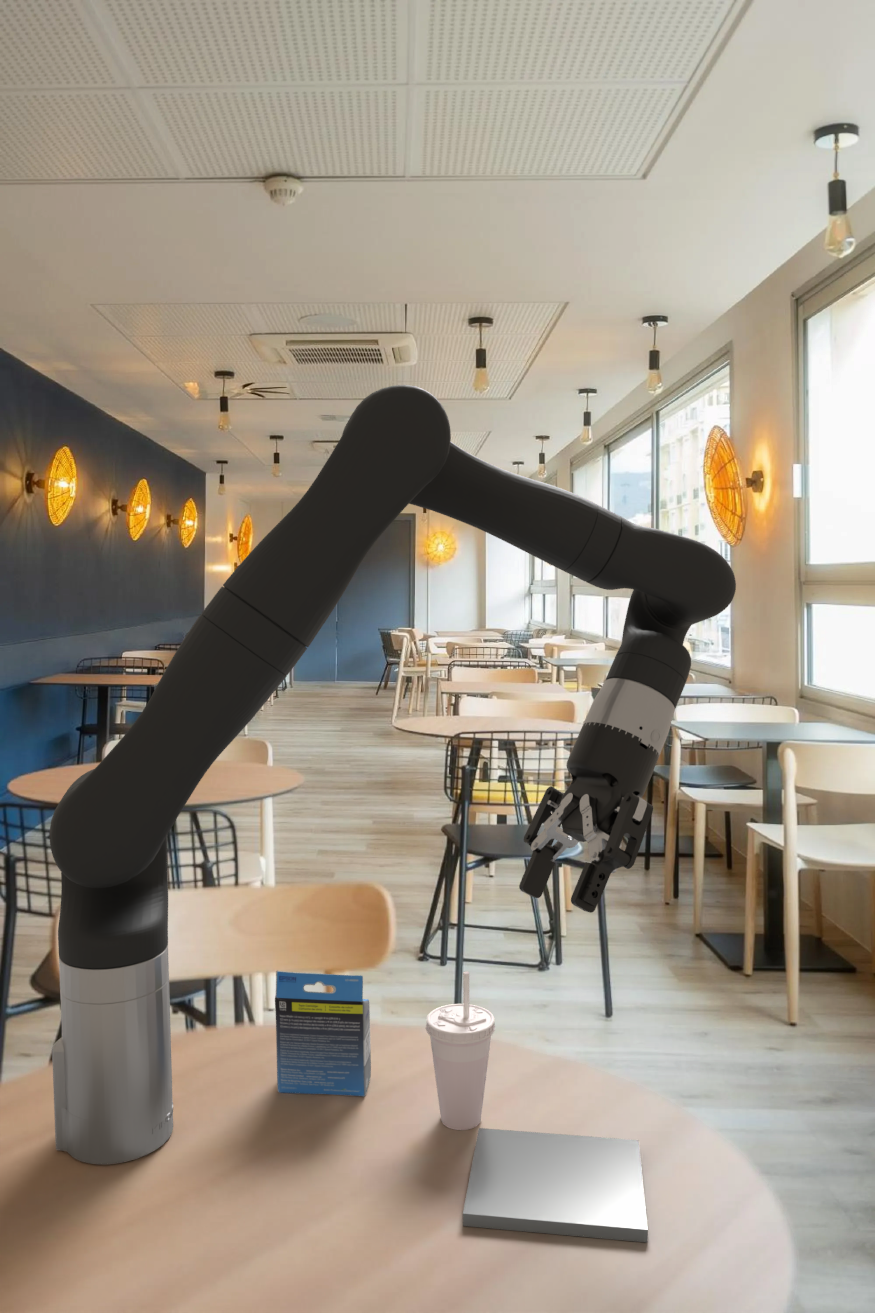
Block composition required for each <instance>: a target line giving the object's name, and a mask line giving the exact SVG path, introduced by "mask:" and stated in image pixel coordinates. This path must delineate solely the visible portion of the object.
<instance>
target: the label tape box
mask: <svg viewBox="0 0 875 1313" xmlns="http://www.w3.org/2000/svg"><path fill="white" fill-rule="evenodd" d="M317 983H319V984H321V985H322V987H331V988H333V991H332V992H328V991H327V992H325V991H308V990H306V989H305V986H315V985H316V984H317ZM363 989H364V976H363V975H362V974H360V975H359V974H358V975H357V974H356V975H355V974H335V973H331V974H330V973H318V972H315V973H314V972H293V971H282V970H276V971H275V996H274V1007H275V1008H274V1009H275V1037H276V1039H275V1042H276V1079H277V1080H276V1082H277V1083H276V1084H277V1085H276V1086H277V1092H278V1093H279V1094H296V1095H297V1094H298V1095H299V1094H300V1095H302V1094H303V1095H334V1096H335V1095H338V1096H352V1097H353V1096H356V1097H366V1095H367V1093H368V1092H367V1091H368V1087H369V1085H370V1081H371V1076H372V1060H371V1059H372V1056H371V1053H372V1052H371V1050H372V1049H371V1048H372V1047H371V1019H370V1018H371V1015H370V1014H371V1013H370V1012H371V1011H370V1007H371V1006H370V1000H369V998H367V999H364V998H363V997H364V996H363V995H364V994H363V993H364V992H363V991H364V990H363Z"/></svg>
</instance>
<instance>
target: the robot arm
mask: <svg viewBox="0 0 875 1313" xmlns="http://www.w3.org/2000/svg"><path fill="white" fill-rule="evenodd" d="M451 433H452V432H451V425H450V420H449V417H448V414H447V411H446V410H445V408H444V406H443V405H442V403H441V401H439V400H438V398H437V397H436V396H435V395H433V394H432V393H431V392H429V391H428V390H426V389H424V388H421V387H419V386H415V385H410V384H396V385H395V384H394V385H391V386H387V387H382V388H380V389H378V390H376V391H374V392H371V393H370V394H368V395H367V396H366V397H364V398H363V399H362V400H361V402H359V404H358V405H357V406H356V407H355V409H354V411H353V412H352V413H351V415H350V417H349V418H348V420H347V423H346V424H345V426H344V428H343V431H342V435H341V436H340V439H339V440H338V442H337V443H336V446H335V447H334V449H333V451H332V452H331V454H330V455H329V456H328V458H327V460H326V462H325V463H324V464H323V467H322V468H321V470H320V471H319V473H318V475H317V476H316V477H315V479H314V481H313V482H312V484H311V485H310V486H309V488H308V489H307V491H306V492H305V493H304V494H303V496H302V497H301V499H300V500H298V502H297V503H296V504H295V506H294V507H292V509H290V511H289V512H288V513H287V514H286V515H285V516H284V517H283V518H282V519H281V520H280V521H279V522H278V523H277V524H276V525H275V526H274V527H273V528H272V529H271V530H270V531H269V532H268V533H267V534H266V535H265V536H264V537H263V538H262V539H261V541H259V542H258V544H257V545H256V546H255V547H254V548H253V549H252V550H250V552H249V553H248V554H247V556H246V557H245V558H244V559H243V560H242V562H241V563H240V564H239V565H238V566H237V567H236V568H235V569H234V571H233V572H232V573H231V574H230V575H229V577H228V578H227V579H226V580H225V581H224V583H223V584H222V585H223V586H221V587H220V588H219V589H218V591H217V592H216V594H214V596H213V597H212V599H211V600H210V602H208V604H207V605H206V607H205V608H204V610H203V611H202V612H201V613H200V615H199V616H198V617H197V619H196V620H195V622H194V623H193V625H192V627H191V628H190V629H189V631H188V632H187V634H186V635H185V637H184V638H183V640H182V642H181V644H180V645H179V646H178V648H177V650H176V651H175V653H174V654H173V657H172V658H171V660H170V661H169V663H168V665H167V667H166V669H165V670H164V672H163V674H162V675H161V678H160V680H159V681H158V683H157V685H156V687H155V689H154V691H153V692H152V694H151V696H150V698H149V700H148V701H147V703H146V705H145V707H144V708H143V710H142V711H141V713H140V714H139V715H138V717H137V718H136V720H135V721H134V723H132V725H131V727H130V728H129V729H128V730H127V732H126V733H125V734H124V735H123V736H122V737H121V739H120V740H119V741H118V742H117V743H116V744H115V745H114V747H113V748H112V749H110V751H109V753H108V754H106V756H105V757H104V758H103V759H102V760H101V761H100V762H99V764H98V765H97V766H96V767H94V768H93V769H91V770H89V771H86V772H85V773H84V774H82V775H80V776H79V777H78V778H77V779H75V781H74V782H72V783H71V785H70V786H69V787H68V789H67V790H66V792H65V793H64V794H63V796H62V798H60V801H59V802H58V804H57V806H56V808H55V809H54V812H53V815H52V817H51V821H50V827H49V833H48V834H49V846H50V852H51V854H52V858H53V860H54V862H55V864H56V866H57V868H58V869H59V871H60V875H61V877H60V878H61V889H60V890H61V893H60V908H59V918H58V928H57V942H58V944H57V945H58V968H59V970H58V972H59V990H60V992H59V995H60V1020H61V1022H60V1023H61V1037H60V1038H59V1039H58V1040H56V1042H54V1044H53V1045H52V1047H51V1053H52V1054H51V1058H52V1059H51V1060H52V1061H51V1062H52V1080H53V1081H52V1082H53V1083H52V1084H53V1110H54V1111H53V1112H54V1113H53V1114H54V1134H55V1135H54V1137H55V1140H54V1141H55V1142H54V1143H55V1151H64V1152H66V1153H68V1154H69V1155H70V1156H71V1157H72V1158H73V1159H75V1160H77V1161H79V1162H82V1163H87V1164H90V1165H92V1164H93V1165H114V1164H120V1163H121V1164H122V1163H127V1162H129V1161H132V1160H133V1161H134V1160H137V1159H139V1158H142V1157H144V1156H147V1155H149V1154H150V1153H152V1152H154V1151H156V1150H157V1149H159V1148H160V1147H162V1146H163V1145H164V1144H165V1143H166V1142H167V1141H168V1140H169V1139H170V1137H171V1136H172V1133H173V1129H174V1102H173V1101H174V1100H173V1069H172V1068H173V1067H172V1065H173V1064H172V1035H171V1034H172V1033H171V1029H172V1028H171V1005H170V1004H171V1002H170V998H171V996H170V971H169V968H170V966H169V884H168V883H169V882H168V880H169V879H168V877H169V876H168V873H169V871H168V835H169V833H170V831H171V829H172V827H173V826H174V824H175V822H176V821H177V819H178V817H179V815H180V814H181V812H182V811H183V809H184V808H185V806H186V804H187V802H188V800H189V799H190V798H191V796H192V794H193V793H194V791H195V789H196V788H197V786H198V785H199V784H200V782H201V781H202V780H203V777H204V776H205V775H206V773H207V771H208V770H209V769H210V767H211V766H212V765H213V764H214V762H215V761H216V760H217V759H218V758H219V757H220V755H221V754H222V753H223V752H224V751H225V749H226V748H227V747H228V746H229V745H230V744H231V743H232V742H233V741H234V740H235V739H236V738H237V737H238V735H239V734H240V733H241V732H242V731H243V729H245V728H246V726H248V724H249V723H250V721H251V720H252V719H254V717H255V716H256V715H257V713H258V712H259V711H260V710H261V709H262V707H264V705H265V704H266V703H267V701H268V700H269V699H270V698H271V696H272V695H273V693H274V692H275V691H276V690H277V689H278V688H279V686H280V685H282V683H283V682H284V680H286V678H287V676H288V675H289V674H290V673H291V671H292V669H294V668H295V666H296V664H297V663H298V662H299V660H300V659H301V658H302V656H303V655H304V653H305V652H307V649H308V648H309V647H310V646H311V644H312V642H313V641H314V639H315V638H316V636H317V635H318V634H319V631H320V630H321V629H322V627H323V626H324V624H325V623H326V622H327V620H328V619H329V617H330V616H331V614H332V613H333V611H334V609H335V607H336V606H337V604H338V603H339V601H340V600H341V598H342V596H343V595H344V593H345V591H346V590H347V587H348V586H349V584H350V583H351V581H352V580H353V577H354V576H355V574H356V573H357V571H358V569H359V567H360V565H361V564H362V562H363V561H364V559H365V557H366V556H367V554H368V553H369V552H370V550H371V549H372V547H373V546H374V544H375V543H376V542H377V541H378V540H379V538H380V537H381V536H382V534H383V533H384V532H385V531H386V530H387V529H388V527H389V526H390V525H391V524H392V523H393V522H394V521H395V520H396V518H397V517H399V515H400V514H401V513H402V512H403V510H405V508H407V506H408V505H409V504H410V505H412V506H415V507H419V508H422V509H426V510H429V511H432V512H435V513H438V514H440V515H444V516H445V517H448V518H451V519H454V520H456V521H458V522H462V523H464V524H467V525H469V526H471V527H474V528H475V529H478V530H481V531H483V532H484V533H487V534H489V535H491V536H493V537H495V538H497V539H499V540H501V541H503V542H505V543H508V544H509V545H511V546H513V547H515V548H518V549H519V550H521V551H523V552H525V553H527V554H528V555H531V556H533V557H535V558H537V559H538V560H541V561H543V562H545V563H547V564H549V565H550V566H553V567H555V568H557V569H559V570H561V571H563V572H565V573H567V574H569V575H571V576H573V577H575V578H577V579H579V580H581V581H583V582H586V584H589V585H592V586H594V587H596V588H599V589H603V590H607V591H613V590H620V589H621V590H622V589H630V590H632V593H631V594H630V598H629V601H628V605H627V610H626V614H625V620H624V624H623V629H622V636H621V637H622V639H621V644H620V646H619V648H618V650H617V652H616V655H615V656H614V659H613V661H612V663H611V665H610V668H609V671H608V673H607V675H606V678H605V680H604V681H603V684H602V686H601V688H600V689H599V691H598V692H597V694H596V696H595V697H594V699H593V701H592V703H591V705H590V707H589V710H588V711H587V712H588V713H587V715H586V716H585V719H584V721H583V723H582V726H581V729H580V731H579V734H578V735H577V738H576V740H575V743H574V744H573V747H572V749H571V752H570V754H569V756H568V758H567V761H566V765H565V766H566V769H567V771H568V773H569V774H570V776H571V782H570V785H569V786H568V787H567V788H566V790H565V791H564V792H562V791H561V790H558V789H557V788H555V787H554V786H552V785H551V786H548V787H547V789H546V790H545V792H544V794H543V796H542V798H541V801H539V802H540V803H539V804H538V807H537V809H536V811H535V812H534V815H533V817H532V820H531V822H530V824H529V826H528V828H527V830H526V832H525V834H524V836H523V842H524V843H525V844H527V845H528V846H529V847H530V850H531V851H532V853H531V856H530V859H529V861H528V864H527V866H526V868H525V870H524V873H523V875H522V877H521V880H520V882H519V885H518V886H519V887H518V889H519V890H520V892H523V894H526V895H527V896H530V897H532V898H535V899H539V898H541V897H542V895H543V894H544V891H545V889H546V886H547V883H548V882H549V879H550V876H551V874H552V871H553V869H554V867H555V864H556V862H555V861H556V860H557V859H558V858H559V857H560V856H561V855H562V853H564V852H565V851H566V850H567V849H572V848H575V847H576V845H577V844H579V842H580V843H584V842H587V847H588V860H589V861H590V862H588V861H587V862H584V865H583V868H582V870H581V873H580V875H579V877H578V879H577V880H578V881H577V883H576V885H575V887H574V890H573V892H572V894H571V897H570V903H571V904H572V905H573V906H575V907H576V908H578V909H579V910H582V911H584V912H586V913H593V912H595V911H596V908H597V906H598V904H599V903H600V901H601V898H602V895H603V894H604V891H605V888H606V886H607V884H608V881H609V879H610V876H611V874H615V873H616V872H617V871H618V870H619V869H620V868H625V869H627V870H629V869H632V868H633V866H634V865H635V863H636V860H637V856H638V854H639V851H640V848H641V846H642V842H643V840H644V837H645V834H646V831H647V828H648V827H649V826H648V825H649V823H650V821H651V817H652V814H653V811H654V805H652V804H650V803H649V801H648V802H647V801H646V800H645V799H644V798H643V797H644V795H645V793H646V791H647V787H648V785H649V782H650V780H651V778H652V776H653V773H654V770H655V768H656V765H657V764H658V761H659V758H660V755H661V753H662V750H663V747H664V746H665V742H666V740H667V738H668V735H669V732H670V728H671V726H672V722H673V721H672V720H673V716H674V713H675V710H676V708H677V706H678V703H679V701H680V698H681V696H682V693H683V691H684V688H685V686H686V684H687V680H688V677H689V674H690V670H691V666H692V657H691V654H690V653H689V650H688V649H687V647H686V646H685V645H684V643H685V638H686V636H687V633H688V632H689V629H690V628H691V626H693V625H694V624H695V625H696V624H697V623H700V622H703V621H705V620H709V619H711V618H714V617H715V616H719V614H720V613H722V612H723V611H724V610H726V609H727V608H728V607H729V605H730V604H731V603H732V601H733V599H734V597H735V594H736V588H737V583H736V577H735V573H734V570H733V569H732V567H731V565H730V564H729V563H728V561H727V560H726V558H724V556H722V554H720V553H719V552H718V551H716V550H715V549H713V548H712V547H711V546H709V545H707V544H705V543H703V542H701V541H698V540H696V539H693V538H689V537H686V536H682V535H680V534H677V533H676V534H675V533H672V532H668V531H664V530H662V529H658V528H653V527H650V526H649V527H648V526H644V525H640V524H636V523H633V522H631V521H630V520H628V519H626V518H624V517H623V516H621V515H619V514H616V513H615V512H613V511H611V510H609V509H607V508H605V507H603V506H601V505H599V504H598V503H595V502H593V501H591V500H589V499H587V498H585V497H583V496H581V495H578V494H576V493H574V492H571V491H568V490H566V489H564V488H561V487H558V486H555V485H553V484H549V483H546V482H542V481H540V480H536V479H532V478H530V477H526V476H523V475H520V474H518V473H515V472H511V471H509V470H506V469H503V468H501V467H499V466H497V465H494V464H491V463H490V462H487V461H486V460H483V459H481V458H479V457H477V456H475V455H473V454H472V453H470V452H468V451H467V450H465V449H463V448H461V447H460V446H458V445H456V444H455V443H454V442H453V441H452V439H451V438H452V436H451V435H452V434H451ZM542 825H543V828H544V829H543V830H542V831H541V832H540V833H539V831H540V830H541V827H542ZM538 833H539V834H538ZM624 837H625V838H626V839H627V844H626V847H625V850H623V849H622V846H623V845H622V841H623V838H624ZM554 841H556V842H555V843H554ZM553 843H554V844H553Z"/></svg>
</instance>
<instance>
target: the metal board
mask: <svg viewBox="0 0 875 1313" xmlns="http://www.w3.org/2000/svg"><path fill="white" fill-rule="evenodd" d="M477 1130H478V1131H477V1136H476V1142H475V1148H474V1153H473V1158H472V1162H471V1168H470V1173H469V1177H468V1178H469V1180H468V1184H467V1190H466V1193H465V1194H466V1195H465V1199H464V1205H463V1212H462V1227H472V1228H480V1229H481V1228H482V1229H494V1230H505V1231H516V1232H528V1233H538V1234H549V1235H550V1234H551V1235H560V1236H571V1237H583V1238H593V1239H604V1240H615V1241H627V1242H636V1243H637V1242H640V1243H648V1242H649V1241H648V1240H649V1237H648V1236H649V1228H648V1218H647V1209H646V1198H645V1189H644V1188H645V1187H644V1178H643V1170H642V1159H641V1158H642V1157H641V1149H640V1140H639V1139H630V1138H617V1137H616V1138H615V1137H607V1136H606V1137H603V1136H592V1135H591V1136H589V1135H580V1134H579V1135H578V1134H577V1135H575V1134H565V1133H564V1134H562V1133H552V1132H551V1133H550V1132H536V1131H524V1130H509V1129H498V1128H497V1129H496V1128H485V1127H484V1128H483V1127H478V1129H477Z"/></svg>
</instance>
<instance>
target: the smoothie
mask: <svg viewBox="0 0 875 1313" xmlns="http://www.w3.org/2000/svg"><path fill="white" fill-rule="evenodd" d="M462 974H463V976H462V981H463V982H462V988H463V989H462V990H463V991H462V994H463V995H462V998H463V1000H462V1001H463V1003H452V1004H446V1005H445V1004H444V1005H442V1006H438V1007H436V1008H434V1009H432V1010H431V1011H430V1012H429V1013H428V1014H427V1015H426V1018H425V1019H426V1023H425V1031H426V1033H427V1034H428V1035H429V1037H430V1047H431V1053H432V1062H433V1069H434V1070H433V1071H434V1077H435V1083H436V1091H437V1099H438V1100H437V1101H438V1105H439V1116H440V1122H441V1123H442V1124H443V1125H444V1126H445V1127H447V1128H449V1129H451V1130H456V1131H466V1130H471V1129H474V1128H476V1127H477V1126H478V1125H479V1124H481V1121H482V1113H483V1105H484V1104H483V1103H484V1097H485V1096H484V1095H485V1089H486V1088H485V1087H486V1081H487V1072H488V1063H489V1057H490V1056H489V1055H490V1049H491V1048H490V1047H491V1042H492V1041H491V1040H492V1036H493V1034H494V1033H495V1031H496V1025H495V1020H496V1019H495V1016H494V1014H493V1013H492V1012H491V1011H490V1010H488V1009H487V1008H484V1007H482V1006H480V1005H474V1004H471V1003H470V971H463V973H462Z"/></svg>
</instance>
